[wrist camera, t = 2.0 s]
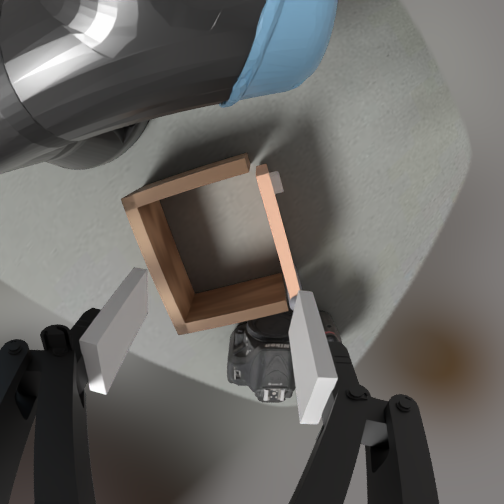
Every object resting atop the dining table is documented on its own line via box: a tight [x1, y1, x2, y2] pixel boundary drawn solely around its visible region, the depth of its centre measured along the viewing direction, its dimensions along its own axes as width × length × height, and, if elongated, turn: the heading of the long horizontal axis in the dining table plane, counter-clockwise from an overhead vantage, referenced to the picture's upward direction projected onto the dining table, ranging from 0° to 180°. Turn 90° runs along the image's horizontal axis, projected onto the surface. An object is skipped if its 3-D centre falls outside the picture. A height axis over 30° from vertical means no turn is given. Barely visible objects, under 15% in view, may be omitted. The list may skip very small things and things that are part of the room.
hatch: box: [256, 164, 302, 310], centre depth 29 cm, size 12×2×7 cm, turn 16°
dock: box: [121, 153, 289, 335], centre depth 31 cm, size 14×11×6 cm
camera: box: [227, 311, 342, 402], centre depth 34 cm, size 13×10×10 cm
